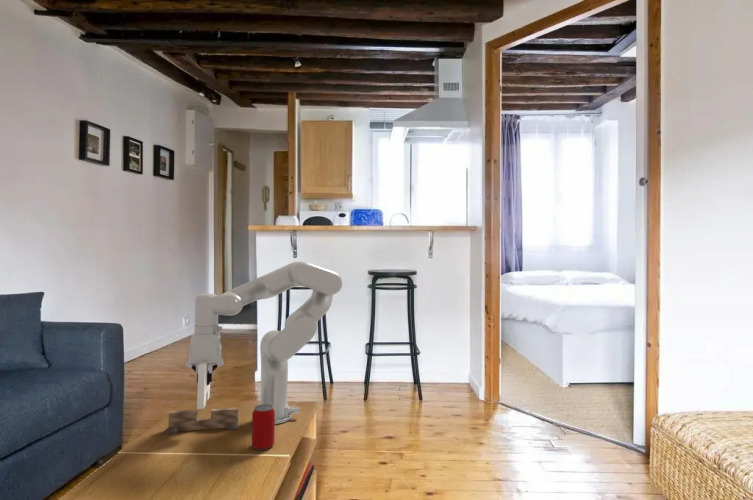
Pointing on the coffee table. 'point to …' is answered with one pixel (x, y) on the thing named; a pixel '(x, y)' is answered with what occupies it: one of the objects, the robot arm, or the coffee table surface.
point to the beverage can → (263, 427)
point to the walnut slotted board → (202, 420)
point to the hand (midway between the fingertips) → (204, 384)
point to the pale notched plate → (203, 385)
